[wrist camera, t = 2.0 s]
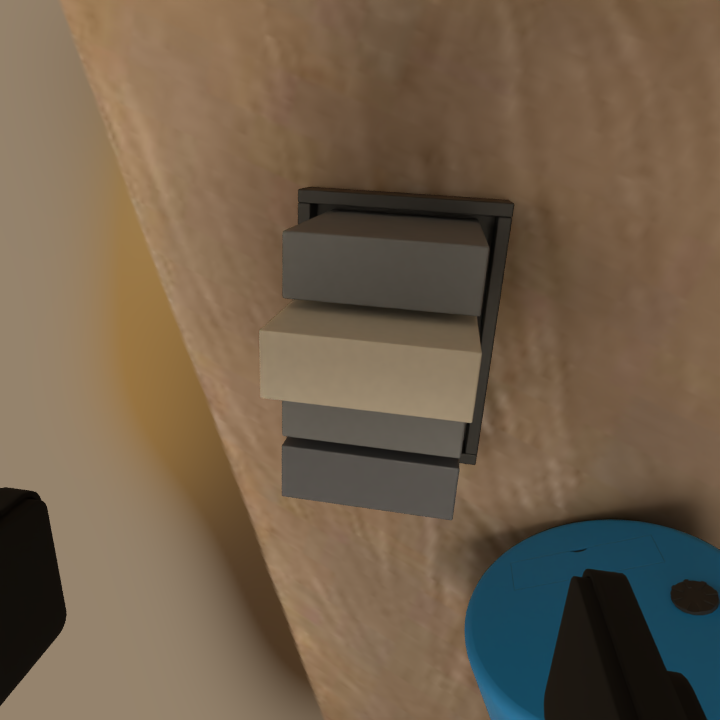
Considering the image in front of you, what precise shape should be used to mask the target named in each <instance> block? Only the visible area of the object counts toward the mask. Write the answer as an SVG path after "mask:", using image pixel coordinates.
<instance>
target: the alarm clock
mask: <svg viewBox="0 0 720 720" xmlns="http://www.w3.org/2000/svg"><path fill="white" fill-rule="evenodd" d="M586 569H595V570H602V571H610V572H617V573H623V574H624V575H626V577H627V579H628V580H629V583H630V585H631V587H632V590H633V592H634V594H635V597H636V599H637V601H638V604H639V606H640V608H641V611H642V613H643V615H644V618H645V620H646V623H647V625H648V627H649V630H650V632H651V634H652V637H653V639H654V641H655V644H656V646H657V648H658V651H659V653H660V655H661V658H662V660H663V662H664V665H665V667H666V669H667V671H673V672H678V673H681V674H683V675H684V676H685V677H686V678H687V679H688V681H689V683H690V684H691V686H692V688H693V690H694V692H695V694H696V696H697V698H698V700H699V703H700V705H701V707H702V709H703V711H704V713H705V716H706V718H707V720H720V550H719V549H717V548H716V547H714V546H712V545H711V544H709V543H707V542H705V541H703V540H701V539H699V538H697V537H694V536H692V535H689V534H687V533H684V532H681V531H679V530H676V529H672V528H669V527H665V526H662V525H657V524H652V523H647V522H640V521H632V520H615V519H607V520H590V521H582V522H575V523H570V524H566V525H562V526H558V527H554V528H551V529H548V530H545V531H543V532H540V533H538V534H535V535H533V536H531V537H529V538H527V539H525V540H523V541H521V542H520V543H518V544H516V545H515V546H513V547H512V548H510V549H509V550H508V551H506V552H505V553H504V554H503V555H501V556H500V557H499V558H498V559H497V560H496V561H495V562H494V563H493V564H492V565H491V566H490V567H489V568H488V570H487V571H486V572H485V573H484V575H483V576H482V578H481V579H480V580H479V582H478V584H477V586H476V588H475V590H474V591H473V594H472V596H471V599H470V601H469V605H468V608H467V612H466V618H465V643H466V649H467V654H468V658H469V661H470V664H471V667H472V670H473V673H474V675H475V678H476V681H477V684H478V686H479V689H480V692H481V694H482V697H483V700H484V702H485V705H486V708H487V710H488V713H489V716H490V718H491V720H545V718H544V695H545V690H546V685H547V681H548V676H549V672H550V668H551V663H552V659H553V655H554V650H555V646H556V641H557V637H558V633H559V628H560V624H561V620H562V615H563V611H564V606H565V602H566V598H567V593H568V589H569V585H570V581H571V578H572V577H573V576H578V577H582V576H583V572H584V571H585V570H586Z"/></svg>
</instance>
